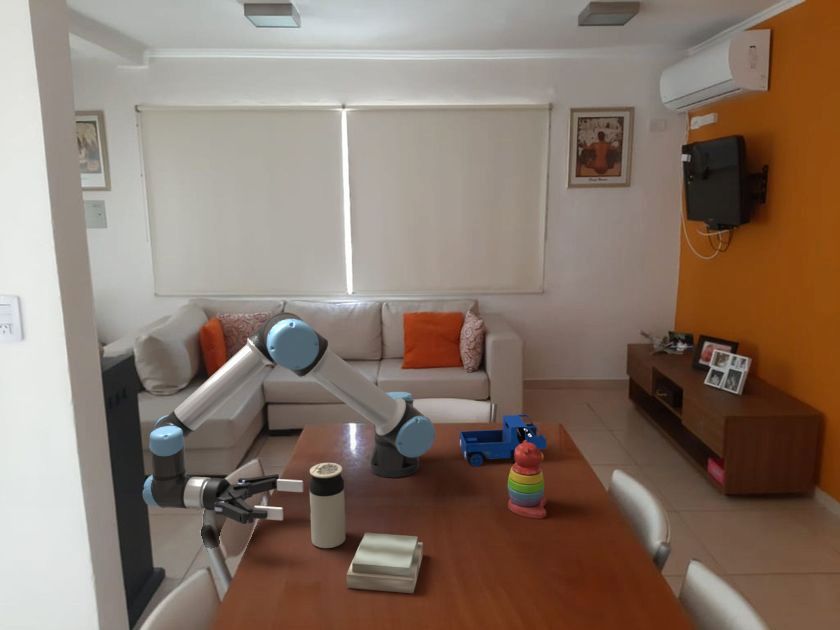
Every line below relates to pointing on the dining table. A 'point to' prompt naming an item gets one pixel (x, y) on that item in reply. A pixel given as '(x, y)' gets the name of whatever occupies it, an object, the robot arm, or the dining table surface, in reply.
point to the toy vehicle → (499, 440)
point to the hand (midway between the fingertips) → (293, 499)
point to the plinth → (385, 578)
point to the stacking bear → (527, 482)
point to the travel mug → (327, 505)
